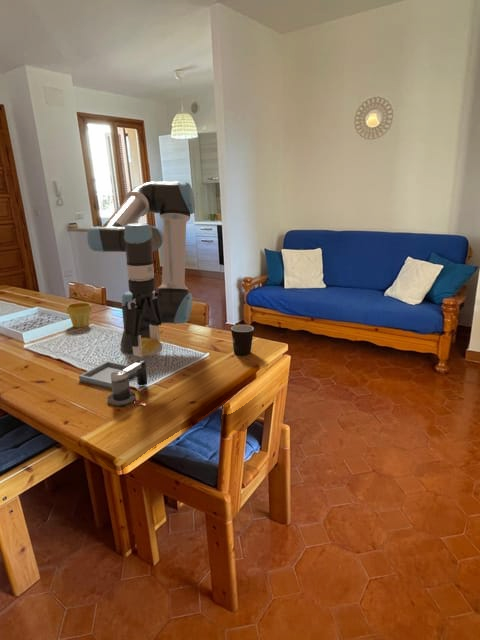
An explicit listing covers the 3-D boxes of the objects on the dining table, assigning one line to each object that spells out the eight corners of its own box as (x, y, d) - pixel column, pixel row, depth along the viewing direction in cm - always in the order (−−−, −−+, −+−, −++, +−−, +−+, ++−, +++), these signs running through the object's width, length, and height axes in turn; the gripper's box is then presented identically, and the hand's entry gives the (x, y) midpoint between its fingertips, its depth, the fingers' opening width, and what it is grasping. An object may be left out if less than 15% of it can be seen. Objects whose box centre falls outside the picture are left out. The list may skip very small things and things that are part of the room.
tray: (79, 381, 135) (78, 375, 134) (108, 366, 147) (107, 360, 146) (112, 389, 130) (111, 383, 129) (139, 372, 141) (138, 367, 141)
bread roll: (145, 344, 133) (144, 332, 132) (166, 349, 129) (165, 337, 127) (126, 353, 126) (125, 340, 125) (148, 359, 122) (147, 346, 121)
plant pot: (84, 320, 198) (81, 301, 195) (97, 324, 192) (95, 304, 189) (64, 326, 190) (61, 305, 187) (77, 330, 184) (75, 309, 181)
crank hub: (102, 403, 121) (99, 382, 119) (120, 391, 128) (118, 371, 126) (136, 412, 116) (135, 390, 114) (153, 399, 123) (152, 379, 121)
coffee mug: (251, 357, 155) (251, 332, 152) (228, 356, 156) (228, 331, 153) (256, 347, 166) (256, 323, 163) (235, 345, 167) (235, 321, 164)
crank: (122, 402, 120) (120, 378, 117) (109, 398, 122) (107, 375, 119) (151, 382, 132) (150, 361, 130) (138, 379, 134) (137, 358, 132)
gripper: (129, 287, 110) (136, 365, 117) (171, 272, 128) (174, 340, 136) (106, 284, 112) (114, 361, 119) (150, 270, 131) (155, 336, 138)
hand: (146, 349), depth 127 cm, fingers closed on bread roll, 8 cm apart
